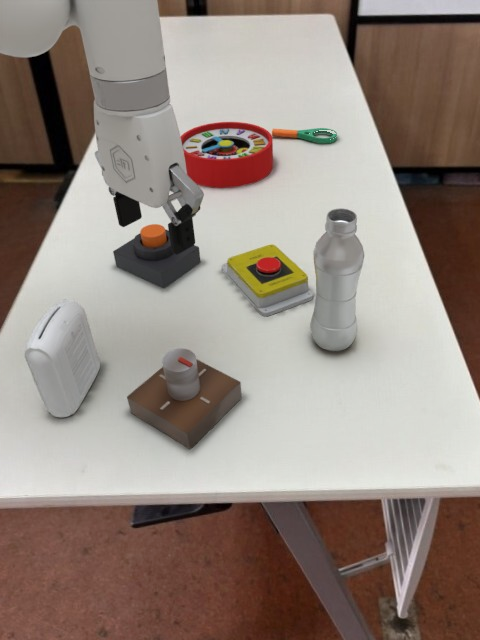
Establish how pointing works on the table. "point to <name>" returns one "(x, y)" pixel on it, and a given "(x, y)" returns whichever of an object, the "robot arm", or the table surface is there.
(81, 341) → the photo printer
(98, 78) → the robot arm
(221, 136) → the toy clock
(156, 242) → the orange push button
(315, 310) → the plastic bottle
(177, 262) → the button base
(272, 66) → the table surface
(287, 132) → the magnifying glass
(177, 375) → the dial
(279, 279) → the emergency button
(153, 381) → the dial panel
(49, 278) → the table surface
